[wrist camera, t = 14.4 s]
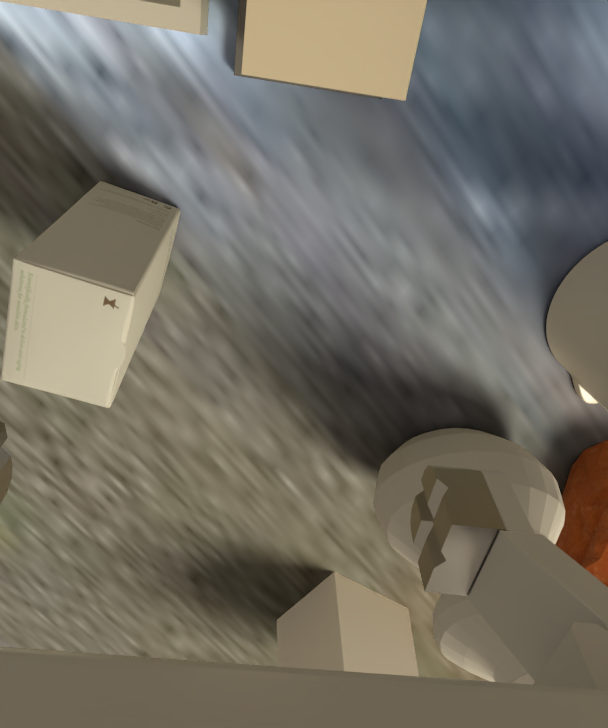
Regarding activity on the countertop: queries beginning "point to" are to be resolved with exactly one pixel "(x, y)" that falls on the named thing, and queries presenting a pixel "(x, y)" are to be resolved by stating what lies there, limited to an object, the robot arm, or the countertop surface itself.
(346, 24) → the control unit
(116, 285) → the skincare box
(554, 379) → the countertop surface
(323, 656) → the milk
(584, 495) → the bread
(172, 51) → the countertop surface
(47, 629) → the countertop surface
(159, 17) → the parts tray
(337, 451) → the countertop surface
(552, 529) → the soap bottle
